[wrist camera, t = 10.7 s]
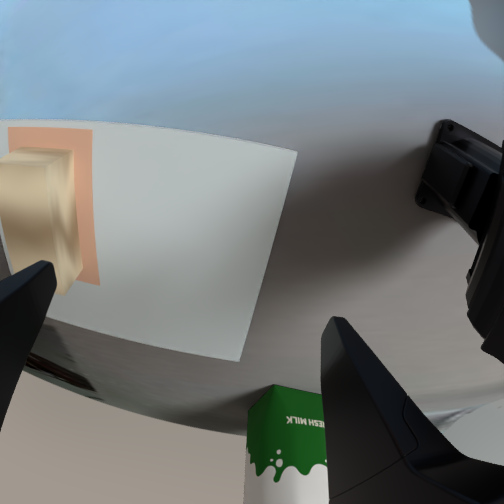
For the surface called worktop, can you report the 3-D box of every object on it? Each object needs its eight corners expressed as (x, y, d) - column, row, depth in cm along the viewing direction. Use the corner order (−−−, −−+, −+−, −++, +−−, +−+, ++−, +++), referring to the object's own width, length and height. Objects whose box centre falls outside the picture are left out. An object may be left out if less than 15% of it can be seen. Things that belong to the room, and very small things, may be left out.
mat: (297, 151, 18) (297, 153, 18) (239, 358, 29) (238, 362, 29) (-12, 120, 16) (-16, 121, 16) (24, 305, 27) (21, 308, 27)
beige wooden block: (83, 268, 23) (64, 295, 20) (37, 257, 23) (16, 281, 20) (73, 149, 18) (44, 167, 15) (21, 146, 17) (-9, 163, 15)
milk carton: (338, 392, 33) (356, 557, 16) (299, 424, 38) (303, 562, 21) (269, 377, 31) (268, 566, 14) (237, 412, 36) (227, 563, 19)
